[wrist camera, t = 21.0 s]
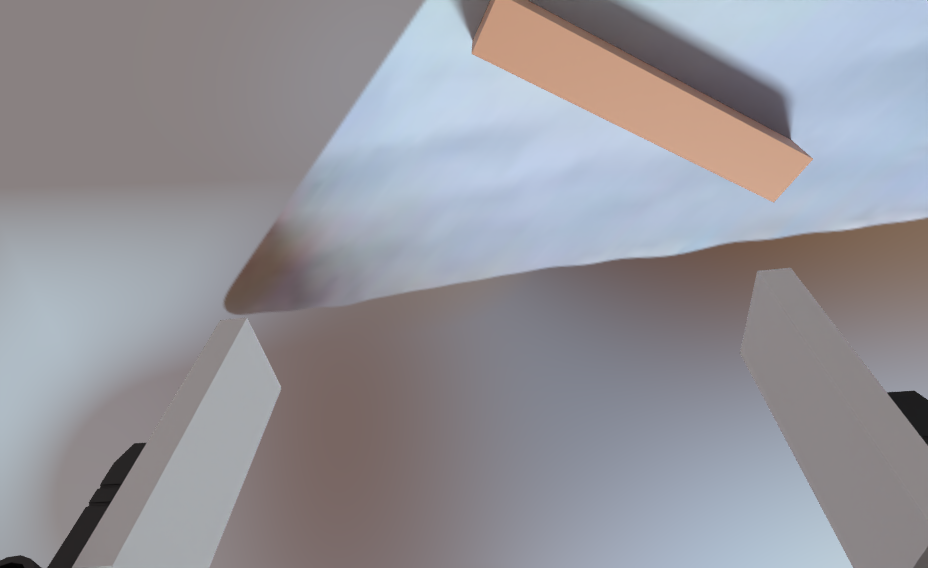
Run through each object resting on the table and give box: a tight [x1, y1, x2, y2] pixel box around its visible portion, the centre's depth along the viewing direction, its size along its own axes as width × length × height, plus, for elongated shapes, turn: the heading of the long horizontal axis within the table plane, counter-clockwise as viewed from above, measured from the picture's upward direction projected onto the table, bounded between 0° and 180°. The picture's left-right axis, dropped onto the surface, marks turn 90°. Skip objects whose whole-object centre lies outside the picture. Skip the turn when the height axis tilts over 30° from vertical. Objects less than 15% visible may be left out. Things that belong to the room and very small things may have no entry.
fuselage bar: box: [472, 0, 813, 202], centre depth 40 cm, size 26×4×4 cm, turn 66°
